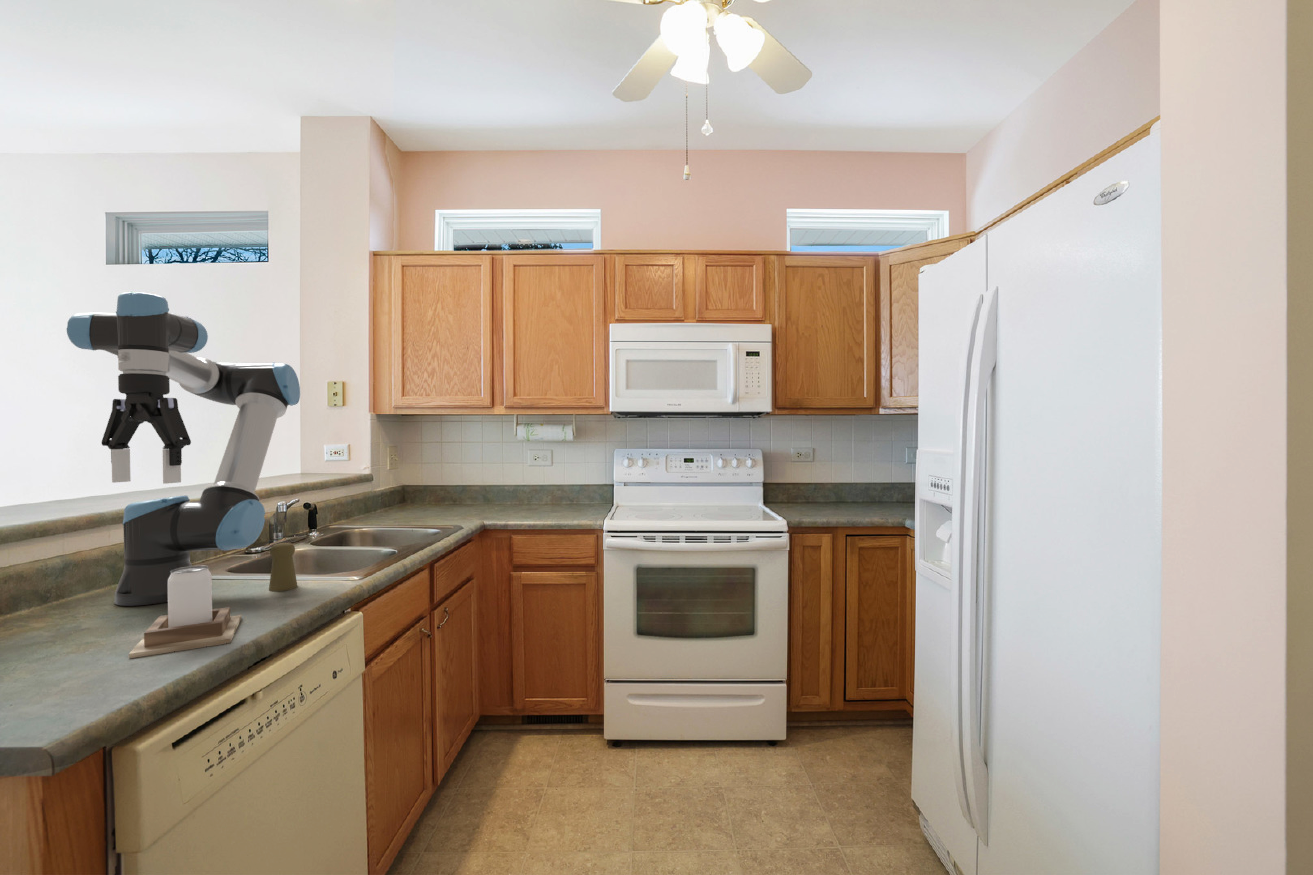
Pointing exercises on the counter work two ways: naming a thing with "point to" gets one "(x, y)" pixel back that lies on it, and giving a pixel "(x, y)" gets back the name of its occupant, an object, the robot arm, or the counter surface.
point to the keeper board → (187, 634)
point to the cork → (282, 567)
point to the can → (189, 596)
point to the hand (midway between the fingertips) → (146, 482)
